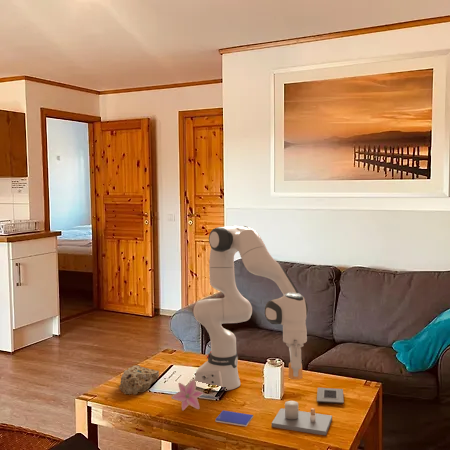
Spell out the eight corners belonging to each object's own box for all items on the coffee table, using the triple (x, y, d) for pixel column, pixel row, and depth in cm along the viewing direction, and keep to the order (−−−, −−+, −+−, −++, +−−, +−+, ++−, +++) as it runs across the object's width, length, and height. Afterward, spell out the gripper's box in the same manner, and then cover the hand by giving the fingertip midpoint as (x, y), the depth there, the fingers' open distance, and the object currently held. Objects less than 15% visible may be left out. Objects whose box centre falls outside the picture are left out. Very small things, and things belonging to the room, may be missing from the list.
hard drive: (215, 419, 199) (246, 424, 195) (223, 409, 207) (253, 414, 202) (215, 423, 199) (246, 428, 195) (223, 413, 207) (253, 418, 202)
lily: (167, 410, 211) (171, 395, 206) (176, 389, 221) (180, 373, 216) (195, 421, 210) (199, 405, 205) (203, 398, 220) (207, 383, 215)
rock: (131, 378, 246) (135, 358, 245) (159, 388, 243) (164, 367, 242) (111, 391, 226) (116, 369, 225) (142, 402, 223) (147, 379, 222)
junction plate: (271, 426, 194) (271, 408, 193) (280, 411, 206) (280, 394, 205) (325, 435, 187) (325, 416, 186) (332, 419, 199) (332, 401, 198)
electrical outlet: (343, 407, 210) (343, 401, 210) (316, 405, 212) (316, 399, 212) (342, 393, 223) (342, 388, 222) (317, 392, 225) (317, 386, 224)
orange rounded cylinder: (286, 377, 198) (285, 363, 197) (294, 373, 201) (294, 361, 201) (296, 380, 194) (295, 367, 194) (305, 377, 197) (304, 364, 197)
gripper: (305, 344, 186) (305, 382, 187) (301, 329, 206) (302, 364, 207) (287, 344, 187) (287, 382, 187) (285, 329, 207) (286, 364, 208)
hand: (295, 372), depth 197 cm, fingers closed on orange rounded cylinder, 5 cm apart
